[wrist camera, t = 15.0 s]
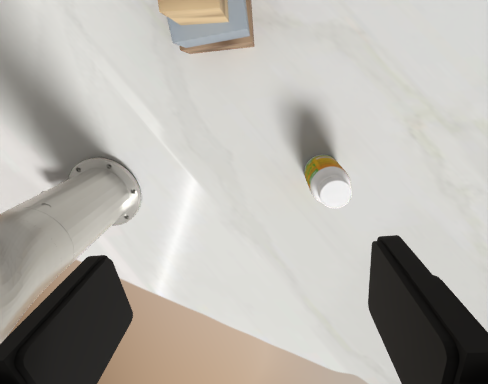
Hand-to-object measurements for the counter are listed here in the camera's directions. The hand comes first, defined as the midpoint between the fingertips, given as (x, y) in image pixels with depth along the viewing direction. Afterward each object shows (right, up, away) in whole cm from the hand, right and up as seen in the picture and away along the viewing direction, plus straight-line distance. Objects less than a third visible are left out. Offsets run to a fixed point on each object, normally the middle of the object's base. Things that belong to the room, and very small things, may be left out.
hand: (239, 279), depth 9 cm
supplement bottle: (+12, +7, +33) cm, 36 cm away
